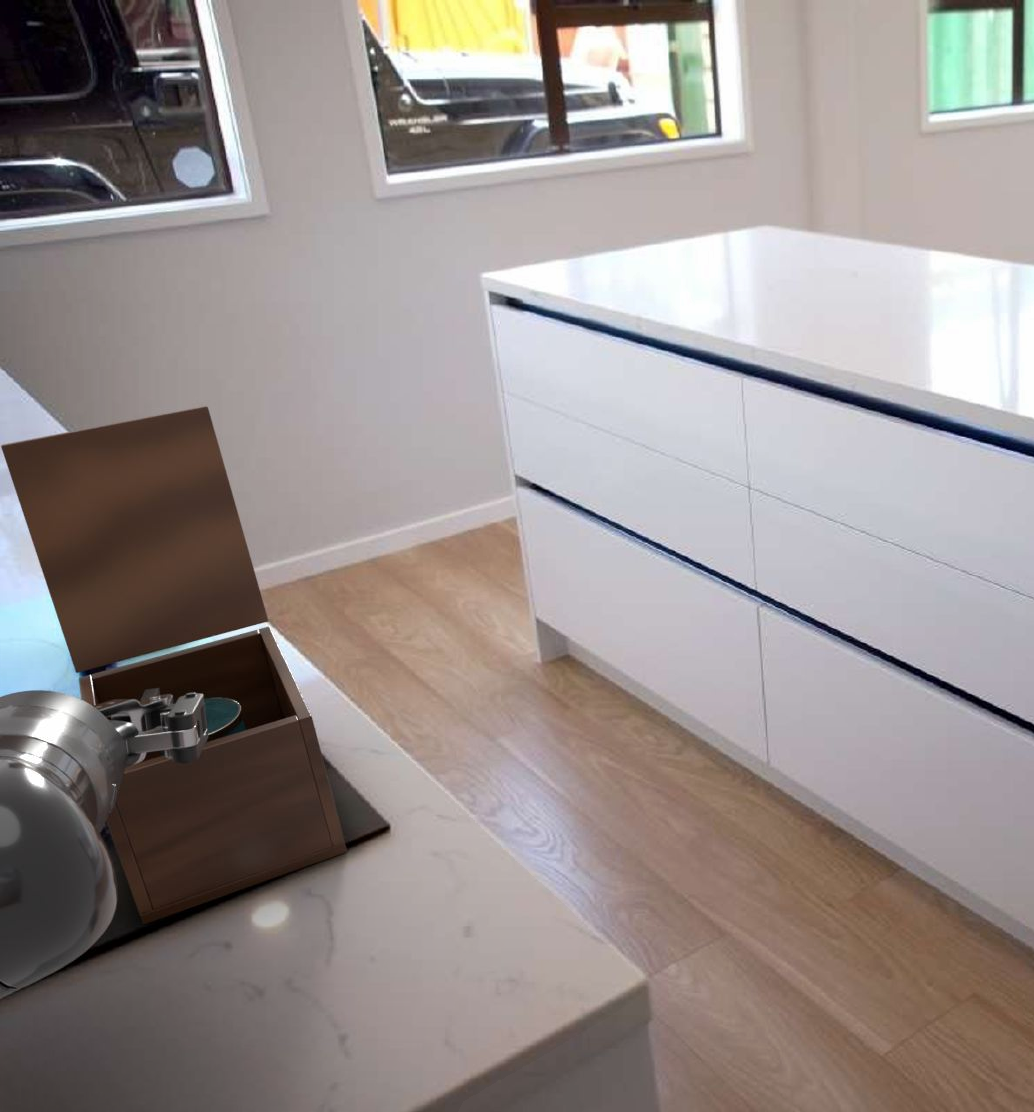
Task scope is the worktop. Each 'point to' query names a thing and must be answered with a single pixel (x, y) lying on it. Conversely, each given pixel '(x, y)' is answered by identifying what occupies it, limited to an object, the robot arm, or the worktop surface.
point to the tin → (222, 718)
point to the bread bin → (221, 780)
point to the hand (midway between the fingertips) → (69, 717)
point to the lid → (136, 535)
